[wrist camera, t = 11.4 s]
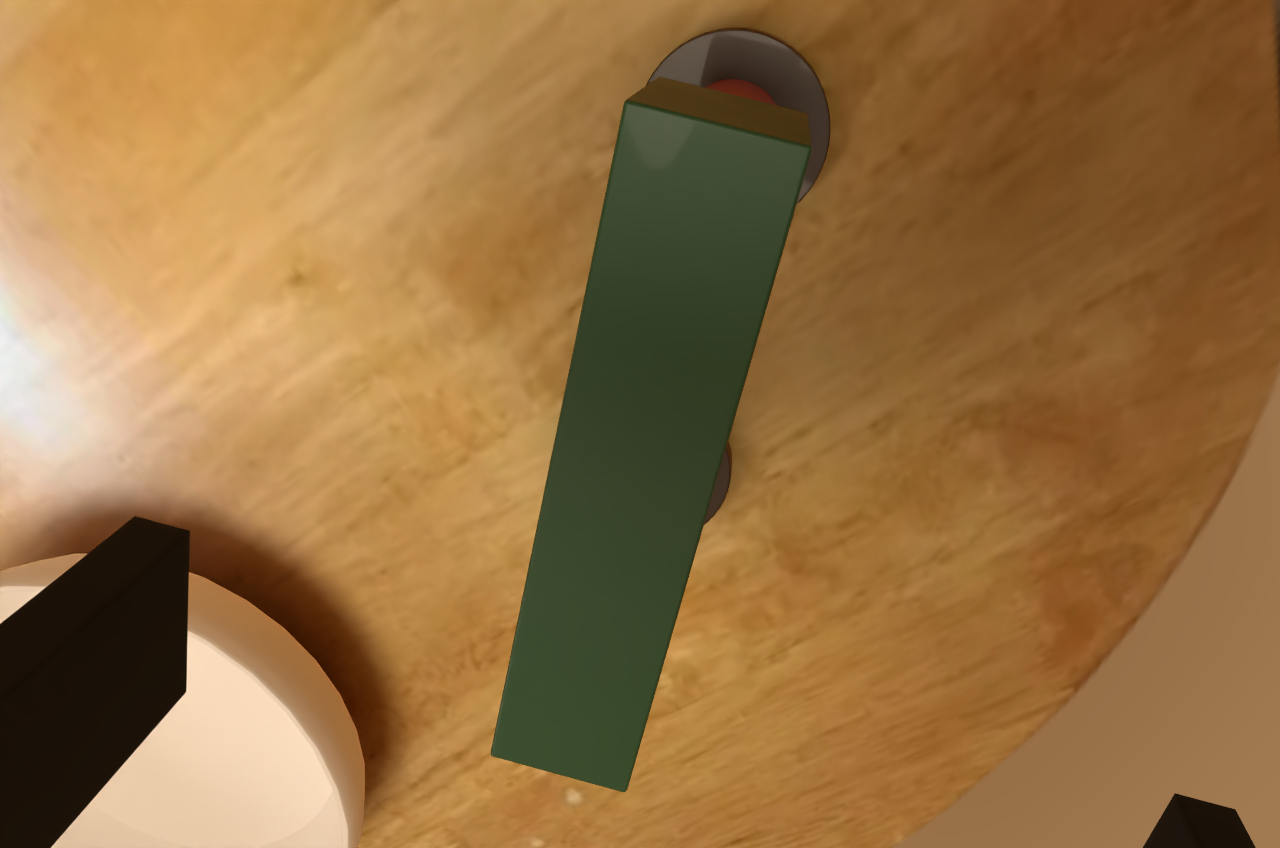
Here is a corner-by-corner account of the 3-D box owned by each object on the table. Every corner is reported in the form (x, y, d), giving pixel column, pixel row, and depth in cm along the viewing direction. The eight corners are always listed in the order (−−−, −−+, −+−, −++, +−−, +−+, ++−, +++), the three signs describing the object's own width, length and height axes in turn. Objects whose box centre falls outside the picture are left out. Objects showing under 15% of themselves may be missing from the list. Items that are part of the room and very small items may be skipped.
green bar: (808, 113, 22) (813, 146, 18) (651, 668, 29) (626, 794, 25) (657, 75, 23) (624, 99, 18) (536, 637, 29) (489, 756, 25)
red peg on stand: (854, 54, 30) (877, 81, 22) (798, 245, 33) (801, 332, 24) (661, 6, 30) (613, 16, 22) (620, 200, 33) (564, 272, 25)
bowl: (187, 906, 50) (111, 1022, 45) (-99, 615, 45) (-226, 705, 39) (494, 778, 44) (450, 893, 38) (203, 420, 38) (104, 495, 33)
